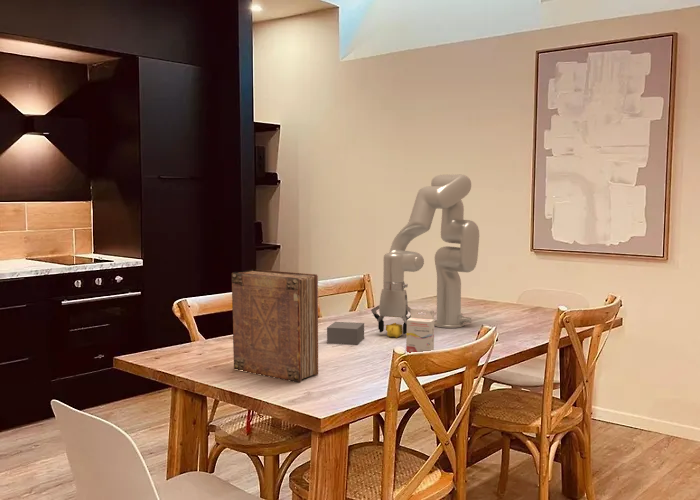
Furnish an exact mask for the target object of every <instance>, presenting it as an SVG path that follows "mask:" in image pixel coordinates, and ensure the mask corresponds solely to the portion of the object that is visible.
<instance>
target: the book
mask: <svg viewBox="0 0 700 500" xmlns="http://www.w3.org/2000/svg"><path fill="white" fill-rule="evenodd" d="M318 279H319V275H318V274H316V273H303V272H292V271H291V272H290V271H280V270H269V269H268V270H266V269H265V270H264V269H255V268H254V269H253V268H252V269H246V270H241V271H239V270H238V271H234V272H232V273H231V302H232V343H233V347H232V349H233V351H232V352H233V370H234V369H238V370H243V371H247V372H246V373H248V372H251V373H250V374H253V373H256V374H255V375H258V374H261V375H260V376H263V375H265V377H268V376H270V377H269V378H273V377H275V378H274V379H278V378H280V379H279V380H283V379H285V380H284V381H288V380H290V381H289V382H293V381H294V383H301V382H302V380H303V379H306V378H309V377H311V376H318V375H319V282H318V281H319V280H318Z"/></svg>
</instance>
